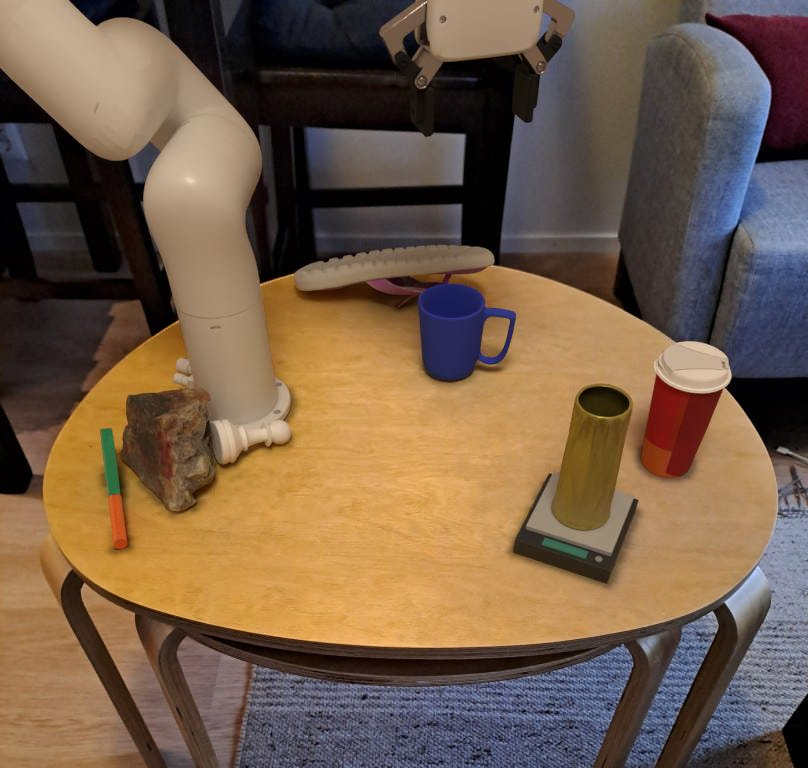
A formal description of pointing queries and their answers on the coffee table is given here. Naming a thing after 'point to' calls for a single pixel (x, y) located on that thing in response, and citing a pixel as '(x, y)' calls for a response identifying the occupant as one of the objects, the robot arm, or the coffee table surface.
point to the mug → (456, 330)
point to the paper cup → (682, 405)
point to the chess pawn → (244, 438)
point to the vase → (592, 456)
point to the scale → (574, 535)
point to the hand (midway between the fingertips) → (473, 124)
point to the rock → (170, 443)
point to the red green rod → (113, 489)
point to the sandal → (394, 268)
